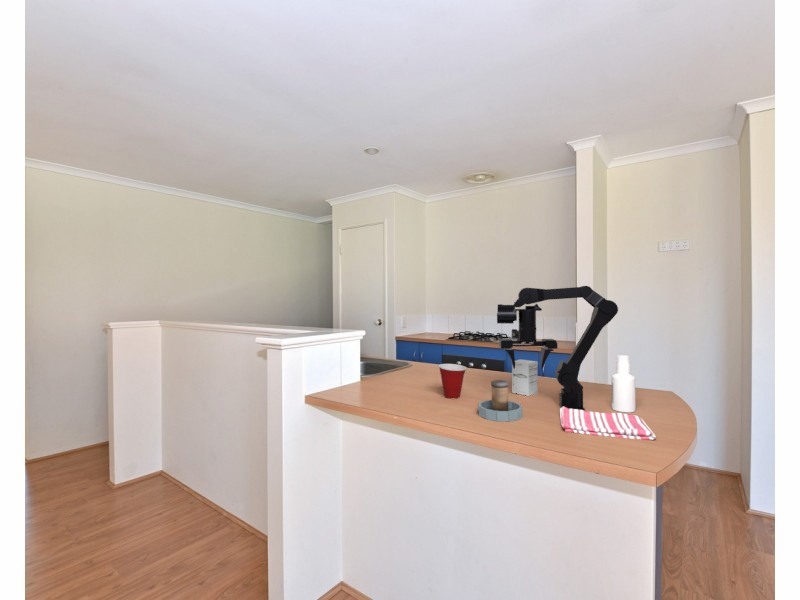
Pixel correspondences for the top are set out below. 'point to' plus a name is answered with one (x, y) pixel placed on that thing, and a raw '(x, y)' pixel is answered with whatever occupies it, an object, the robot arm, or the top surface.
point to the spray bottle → (623, 386)
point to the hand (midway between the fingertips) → (527, 368)
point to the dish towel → (605, 424)
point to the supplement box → (525, 377)
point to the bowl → (512, 414)
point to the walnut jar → (499, 395)
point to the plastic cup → (452, 379)
